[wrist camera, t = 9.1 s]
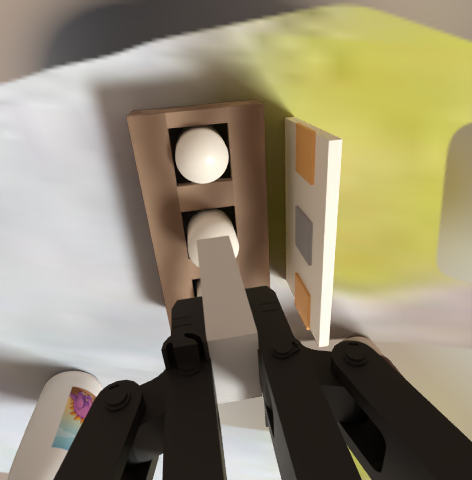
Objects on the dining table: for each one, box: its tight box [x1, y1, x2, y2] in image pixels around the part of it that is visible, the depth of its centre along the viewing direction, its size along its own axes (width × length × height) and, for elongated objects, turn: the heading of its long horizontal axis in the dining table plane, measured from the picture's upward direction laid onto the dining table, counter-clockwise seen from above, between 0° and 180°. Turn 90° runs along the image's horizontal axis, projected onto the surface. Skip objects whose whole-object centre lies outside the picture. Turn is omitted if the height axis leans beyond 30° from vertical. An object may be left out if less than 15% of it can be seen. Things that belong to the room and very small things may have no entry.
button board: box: [126, 100, 270, 329], centre depth 38 cm, size 12×24×4 cm, turn 4°
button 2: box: [187, 208, 239, 267], centre depth 35 cm, size 5×5×4 cm
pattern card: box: [285, 117, 342, 347], centre depth 35 cm, size 1×20×12 cm, turn 4°
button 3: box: [175, 125, 229, 184], centre depth 34 cm, size 5×5×4 cm
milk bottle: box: [7, 371, 103, 480], centre depth 39 cm, size 8×8×20 cm
